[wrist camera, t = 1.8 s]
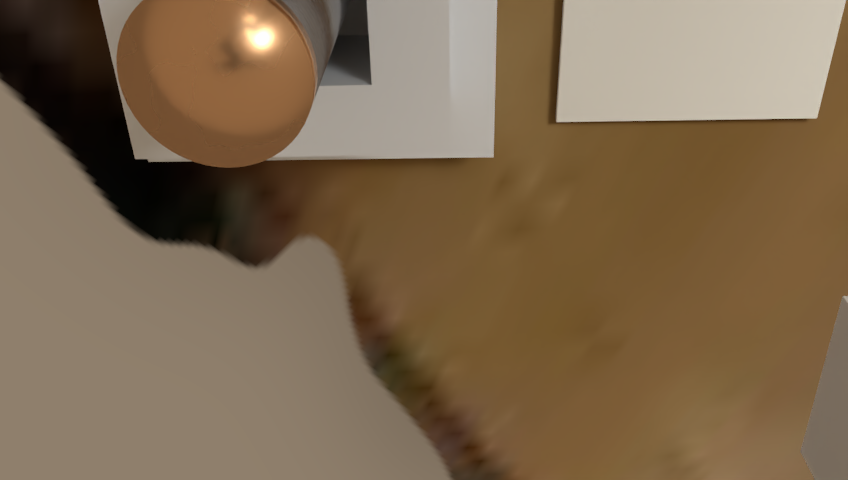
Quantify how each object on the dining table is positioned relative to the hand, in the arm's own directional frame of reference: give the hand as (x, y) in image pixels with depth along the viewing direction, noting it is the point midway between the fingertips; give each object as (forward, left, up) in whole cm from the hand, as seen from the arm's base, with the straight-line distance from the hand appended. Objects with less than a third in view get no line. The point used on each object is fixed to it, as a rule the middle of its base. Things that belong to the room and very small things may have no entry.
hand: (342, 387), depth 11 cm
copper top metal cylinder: (0, -4, -25) cm, 26 cm away
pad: (+2, +13, -27) cm, 30 cm away
